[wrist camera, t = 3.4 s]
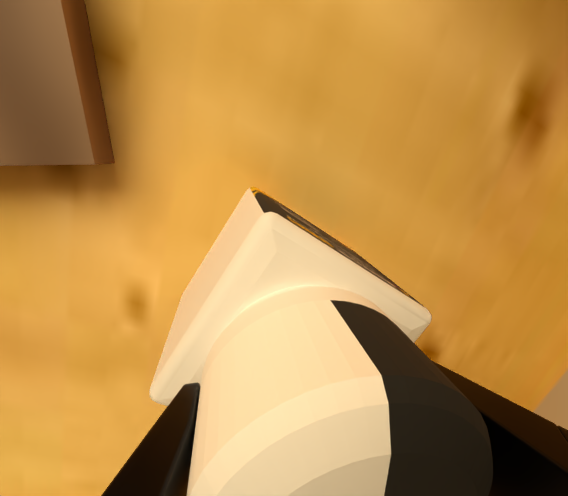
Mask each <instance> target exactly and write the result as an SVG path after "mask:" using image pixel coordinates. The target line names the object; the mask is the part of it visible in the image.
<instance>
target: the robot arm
mask: <svg viewBox="0 0 568 496" xmlns="http://www.w3.org/2000/svg"><path fill="white" fill-rule="evenodd" d="M432 362H433V361H432ZM433 363H434V364H435V365H436V366H437V367H438V368H439V369H440V370H441V371H442V373H443V374H444V375H445V376H446V377H447V378H448V379H449V380H450V381H451V382H452V383H453V384H454V385H455V386H456V387H457V388H458V389H459V390H460V391H461V392H462V393H463V394H464V395H465V396H466V397H467V398H468V399H469V400H470V401H471V402H472V404H473V405H474V406H475V407H476V409H477V410H478V411H479V412H480V414H481V415H482V418H483V420H484V422H485V424H486V426H487V429H488V434H489V438H490V444H491V451H492V458H493V479H492V485H491V489H490V492H489V495H488V496H568V430H566V429H564V428H562V427H560V426H556V425H555V424H554V423H553V422H550V421H549V420H546V419H544V418H543V417H541V416H539V415H537V414H535V413H533V412H531V411H529V410H527V409H525V408H523V407H521V406H519V405H517V404H515V403H514V402H512V401H510V400H508V399H506V398H504V397H502V396H500V395H498V394H496V393H494V392H492V391H490V390H488V389H486V388H484V387H482V386H480V385H478V384H476V383H474V382H472V381H471V380H469V379H467V378H465V377H463V376H461V375H459V374H457V373H455V372H453V371H451V370H449V369H447V368H445V367H443V366H441V365H439V364H437V363H435V362H433ZM199 395H200V384H199V383H198V382H196V383H188V384H185V385H183V386H182V388H181V389H180V390H179V392H178V393H177V394H176V396H175V397H174V398H173V400H172V401H171V402H170V404H169V405H168V407H167V408H166V409H165V411H164V412H163V413H162V415H161V416H160V417H159V419H158V420H157V421H156V423H155V424H154V425H153V427H152V428H151V429H150V431H149V432H148V433H147V435H146V436H145V437H144V439H143V440H142V442H141V443H140V444H139V446H138V447H137V448H136V450H135V451H134V452H133V454H132V455H131V456H130V458H129V459H128V460H127V462H126V463H125V464H124V466H123V467H122V468H121V470H120V471H119V473H118V474H117V475H116V477H115V478H114V479H113V481H112V482H111V483H110V485H109V486H108V487H107V489H106V490H105V491H104V493H103V494H102V495H101V496H187V488H188V480H189V472H190V465H191V457H192V449H193V441H194V434H195V426H196V418H197V411H198V403H199Z"/></svg>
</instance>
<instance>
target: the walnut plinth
mask: <svg viewBox="0 0 568 496" xmlns="http://www.w3.org/2000/svg"><path fill="white" fill-rule="evenodd" d="M108 163H114V157H113V152H112V147H111V141H110V136H109V131H108V125H107V120H106V115H105V109H104V104H103V99H102V93H101V88H100V82H99V77H98V72H97V66H96V61H95V56H94V50H93V45H92V40H91V34H90V29H89V24H88V18H87V13H86V8H85V2H84V0H0V166H16V165H95V164H108Z"/></svg>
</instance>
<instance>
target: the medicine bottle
mask: <svg viewBox="0 0 568 496" xmlns="http://www.w3.org/2000/svg"><path fill="white" fill-rule="evenodd" d="M431 320H432V316H431V314H430V312H429V311H428V310H427V308H425V307H424V306H423V305H421V304H420V303H419V302H418V301H416V300H415V299H414V298H413V297H411V296H410V295H409V294H407V293H406V292H405V291H404V290H402V289H401V288H400V287H399V286H397V285H396V284H395V283H394V282H392V281H391V280H390V279H388V278H387V277H386V276H385V275H383V274H382V273H381V272H380V271H378V270H377V269H376V268H375V267H373V266H372V265H371V264H369V263H368V262H367V261H366V260H364V259H363V258H362V257H361V256H359V255H358V254H357V253H356V252H354V251H353V250H351V249H350V248H348V247H347V246H345V245H344V244H342V243H341V242H339V241H338V240H336V239H335V238H333V237H331V236H330V235H328V234H327V233H325V232H324V231H322V230H321V229H319V228H318V227H316V226H315V225H313V224H312V223H310V222H308V221H307V220H305V219H304V218H302V217H301V216H299V215H298V214H296V213H295V212H293V211H292V210H290V209H289V208H287V207H285V206H284V205H282V204H281V203H279V202H278V201H276V200H275V199H273V198H272V197H270V196H269V195H267V194H266V193H264V192H262V191H261V190H259V189H258V188H255V187H251V188H249V189H248V190H247V191H246V192H245V194H244V196H243V197H242V199H241V200H240V202H239V204H238V205H237V207H236V208H235V210H234V212H233V213H232V215H231V217H230V218H229V220H228V221H227V223H226V225H225V226H224V228H223V229H222V231H221V233H220V234H219V236H218V237H217V239H216V241H215V242H214V244H213V246H212V247H211V249H210V250H209V252H208V254H207V255H206V257H205V258H204V260H203V262H202V263H201V265H200V266H199V268H198V270H197V271H196V273H195V275H194V276H193V278H192V279H191V281H190V283H189V284H188V286H187V287H186V289H185V291H184V292H183V294H182V297H181V300H180V303H179V306H178V309H177V311H176V314H175V317H174V320H173V323H172V326H171V329H170V332H169V335H168V338H167V341H166V343H165V346H164V349H163V352H162V355H161V358H160V361H159V364H158V367H157V370H156V373H155V375H154V378H153V381H152V384H151V387H150V397H151V400H153V401H155V402H157V403H159V404H163V405H166V406H168V405H169V404H170V402H171V401H172V400H173V398H174V397H175V396H176V394H177V393H178V392H179V390H180V389H181V388H182V386H183V385H185V384H188V383H196V382H198V383H199V384H200V395H199V403H198V411H197V418H196V426H195V434H194V441H193V449H192V457H191V465H190V472H189V480H188V488H187V496H488V495H489V492H490V489H491V485H492V479H493V458H492V451H491V444H490V438H489V434H488V429H487V426H486V424H485V422H484V420H483V418H482V415H481V414H480V412H479V411H478V410H477V409H476V407H475V406H474V405H473V404H472V402H471V401H470V400H469V399H468V398H467V397H466V396H465V395H464V394H463V393H462V392H461V391H460V390H459V389H458V388H457V387H456V386H455V385H454V384H453V383H452V382H451V381H450V380H449V379H448V378H447V377H446V376H445V375H444V374H443V373H442V371H441V370H440V369H439V368H438V367H437V366H436V365H435V364H434V363H433V362H432V361H431V360H430V359H429V358H428V357H427V356H426V355H425V354H424V353H423V352H422V351H421V350H420V349H419V348H418V347H417V346H416V345H415V344H414V342H415V341H416V340H417V339H418V337H419V336H420V335H421V334H422V333H423V331H424V330H425V329H426V328H427V326H428V325H429V324H430V322H431Z"/></svg>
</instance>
